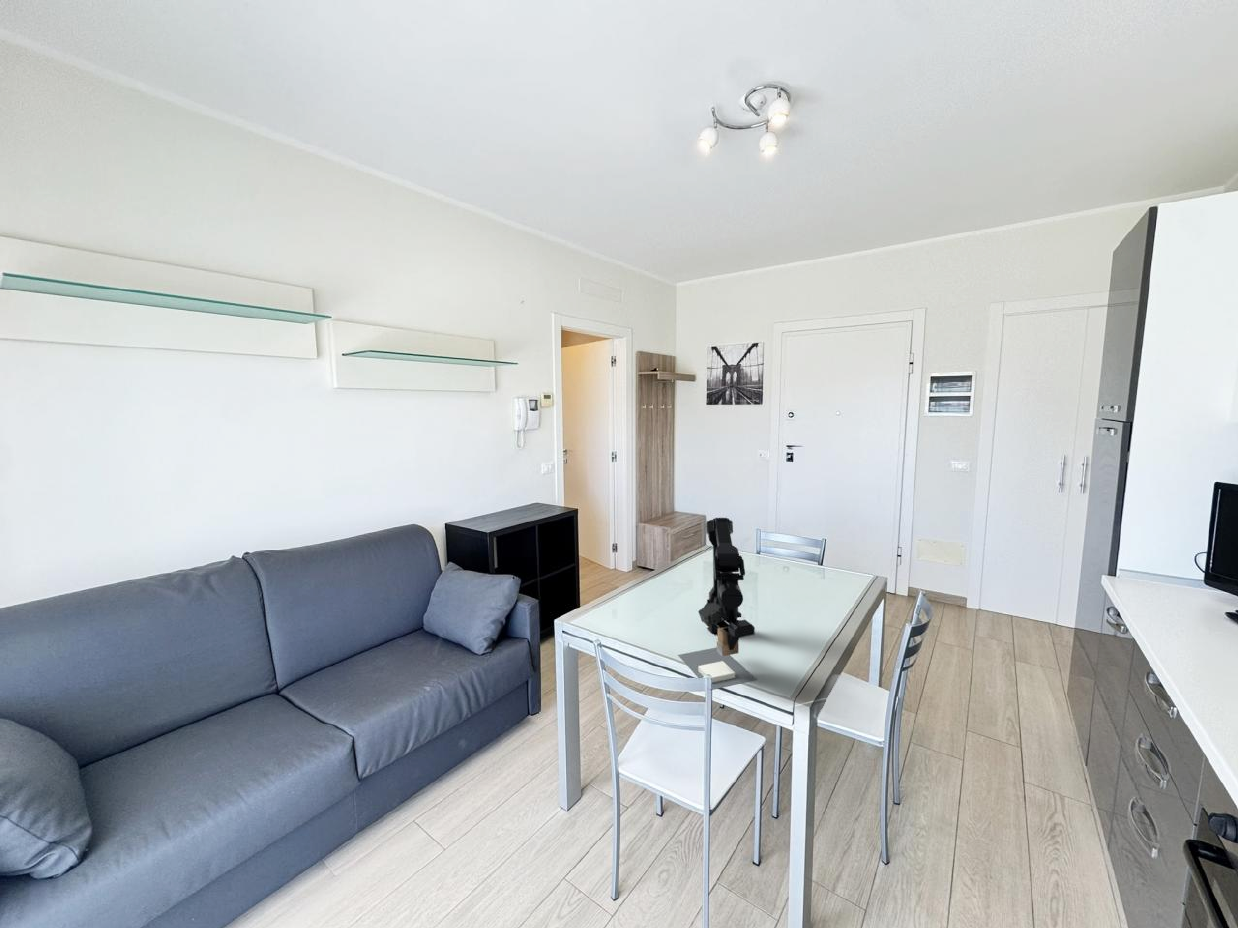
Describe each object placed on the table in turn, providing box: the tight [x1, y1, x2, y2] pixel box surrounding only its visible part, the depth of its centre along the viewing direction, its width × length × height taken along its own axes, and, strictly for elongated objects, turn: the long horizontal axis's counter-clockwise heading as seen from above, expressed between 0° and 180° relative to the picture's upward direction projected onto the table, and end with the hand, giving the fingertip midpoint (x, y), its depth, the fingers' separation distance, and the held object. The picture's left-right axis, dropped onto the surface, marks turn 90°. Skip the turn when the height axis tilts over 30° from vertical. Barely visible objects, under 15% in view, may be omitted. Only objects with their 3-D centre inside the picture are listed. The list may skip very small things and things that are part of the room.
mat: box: [677, 646, 758, 691], centre depth 147 cm, size 15×21×1 cm
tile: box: [698, 661, 735, 683], centre depth 143 cm, size 2×7×8 cm
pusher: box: [716, 627, 739, 656], centre depth 143 cm, size 5×3×7 cm, turn 108°
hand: (728, 646), depth 143 cm, fingers closed on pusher, 3 cm apart
